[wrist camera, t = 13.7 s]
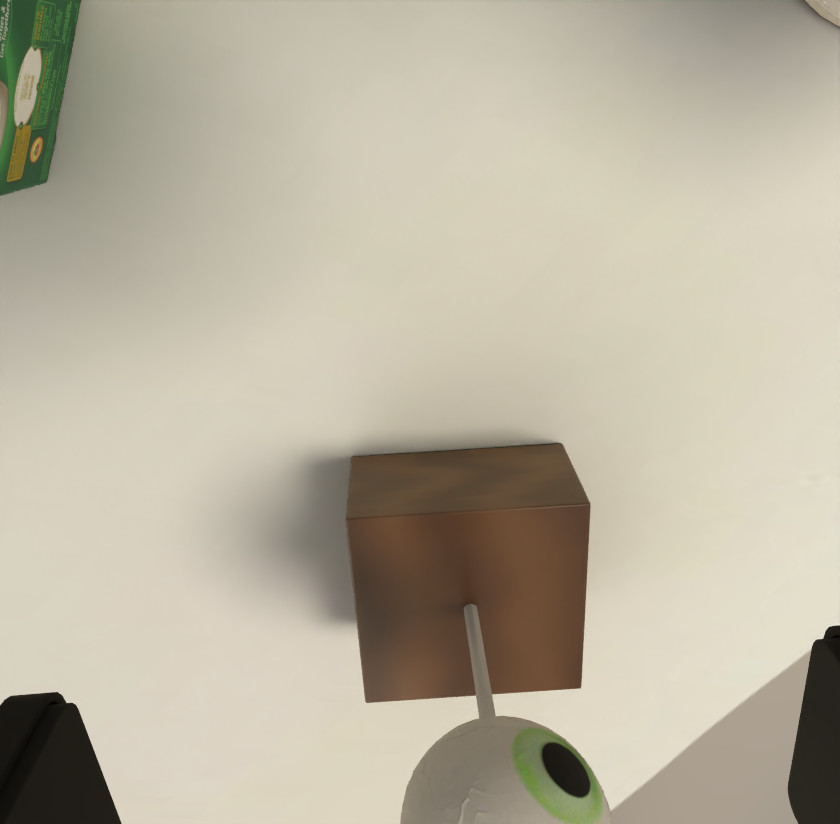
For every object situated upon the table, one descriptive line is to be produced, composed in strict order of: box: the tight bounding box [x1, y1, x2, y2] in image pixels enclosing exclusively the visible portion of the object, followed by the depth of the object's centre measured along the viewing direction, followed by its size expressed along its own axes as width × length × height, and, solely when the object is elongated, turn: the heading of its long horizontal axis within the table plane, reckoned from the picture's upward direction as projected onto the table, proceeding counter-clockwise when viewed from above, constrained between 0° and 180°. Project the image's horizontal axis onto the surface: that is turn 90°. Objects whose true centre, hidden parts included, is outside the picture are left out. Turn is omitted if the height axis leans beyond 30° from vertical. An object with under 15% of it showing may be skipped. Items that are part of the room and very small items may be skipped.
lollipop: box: [401, 604, 612, 824], centre depth 29 cm, size 7×7×15 cm
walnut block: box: [346, 444, 590, 703], centre depth 39 cm, size 11×11×6 cm
